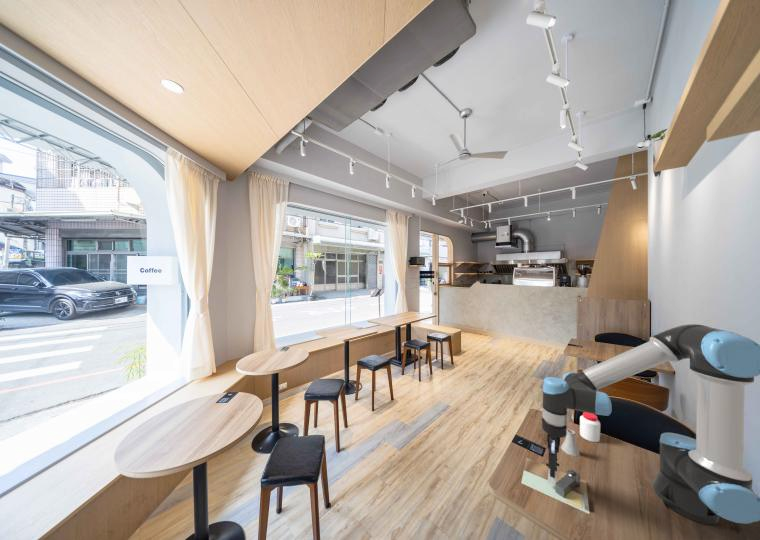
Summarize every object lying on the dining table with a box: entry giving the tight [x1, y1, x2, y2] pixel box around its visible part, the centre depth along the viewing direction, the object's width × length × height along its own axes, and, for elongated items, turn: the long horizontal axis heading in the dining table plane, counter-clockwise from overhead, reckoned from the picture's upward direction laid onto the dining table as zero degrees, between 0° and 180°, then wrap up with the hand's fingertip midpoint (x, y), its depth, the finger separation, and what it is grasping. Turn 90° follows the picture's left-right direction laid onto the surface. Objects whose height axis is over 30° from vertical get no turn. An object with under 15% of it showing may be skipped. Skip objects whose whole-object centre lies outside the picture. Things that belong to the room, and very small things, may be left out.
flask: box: [560, 428, 581, 457], centre depth 113 cm, size 7×7×10 cm
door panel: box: [521, 469, 591, 515], centre depth 93 cm, size 20×8×3 cm, turn 54°
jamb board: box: [523, 457, 589, 497], centre depth 99 cm, size 20×8×1 cm, turn 54°
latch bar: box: [555, 469, 581, 497], centre depth 94 cm, size 12×4×4 cm, turn 120°
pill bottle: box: [579, 412, 601, 443], centre depth 124 cm, size 8×8×11 cm
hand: (552, 483), depth 94 cm, fingers closed
